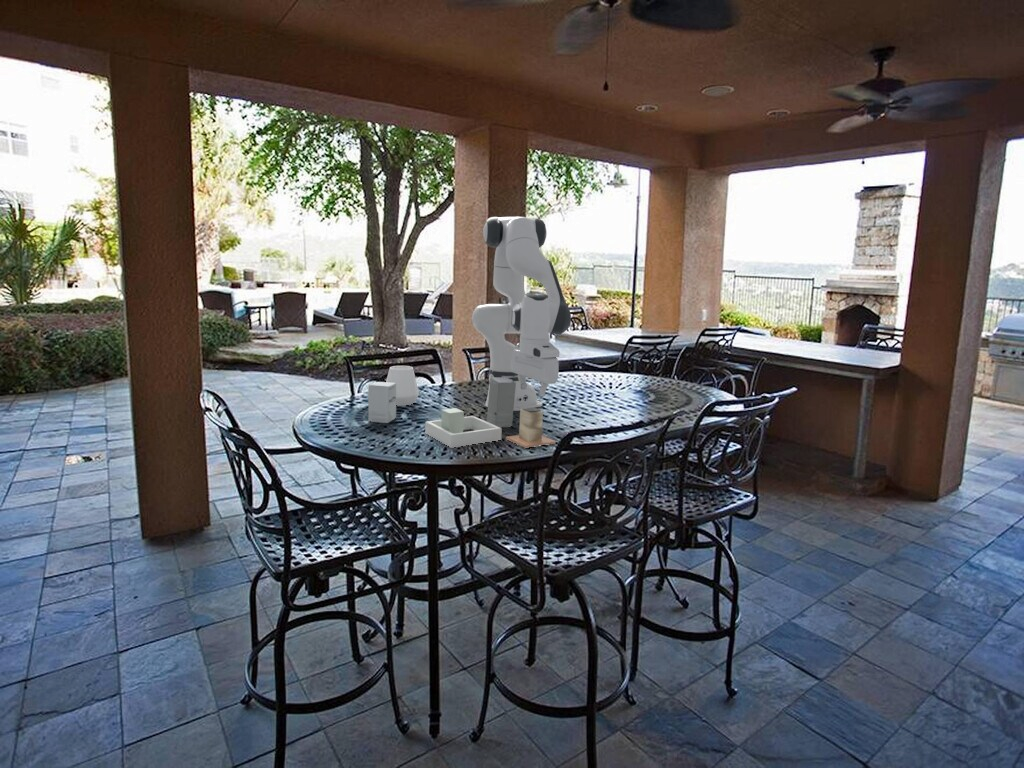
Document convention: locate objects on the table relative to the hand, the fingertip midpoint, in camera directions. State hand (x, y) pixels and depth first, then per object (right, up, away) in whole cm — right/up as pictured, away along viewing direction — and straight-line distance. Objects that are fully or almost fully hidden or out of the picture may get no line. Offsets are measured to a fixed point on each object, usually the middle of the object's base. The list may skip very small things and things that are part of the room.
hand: (532, 392), depth 189 cm
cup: (-48, -5, +49) cm, 69 cm away
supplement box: (-50, -10, +23) cm, 56 cm away
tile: (0, -15, +3) cm, 16 cm away
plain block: (-25, -14, +3) cm, 29 cm away
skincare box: (-10, -11, +22) cm, 27 cm away
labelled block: (0, -14, +2) cm, 15 cm away
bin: (-21, -14, +5) cm, 26 cm away
